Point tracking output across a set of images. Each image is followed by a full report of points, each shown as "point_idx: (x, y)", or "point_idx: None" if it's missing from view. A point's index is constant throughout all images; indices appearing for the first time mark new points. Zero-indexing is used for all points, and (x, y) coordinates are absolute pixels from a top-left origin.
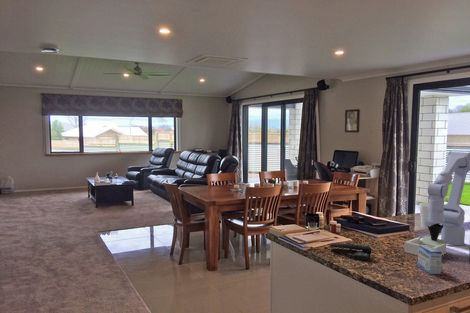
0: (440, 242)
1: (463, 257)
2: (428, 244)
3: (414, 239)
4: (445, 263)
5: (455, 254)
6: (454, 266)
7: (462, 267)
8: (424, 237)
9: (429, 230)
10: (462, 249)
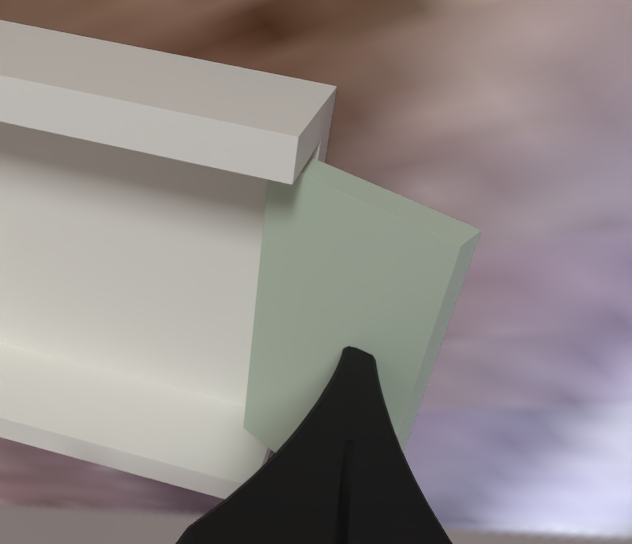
0: None
1: None
2: (259, 287)
3: (65, 122)
4: None
5: None
6: (21, 460)
7: (54, 496)
8: (403, 235)
9: (269, 462)
10: (626, 518)
